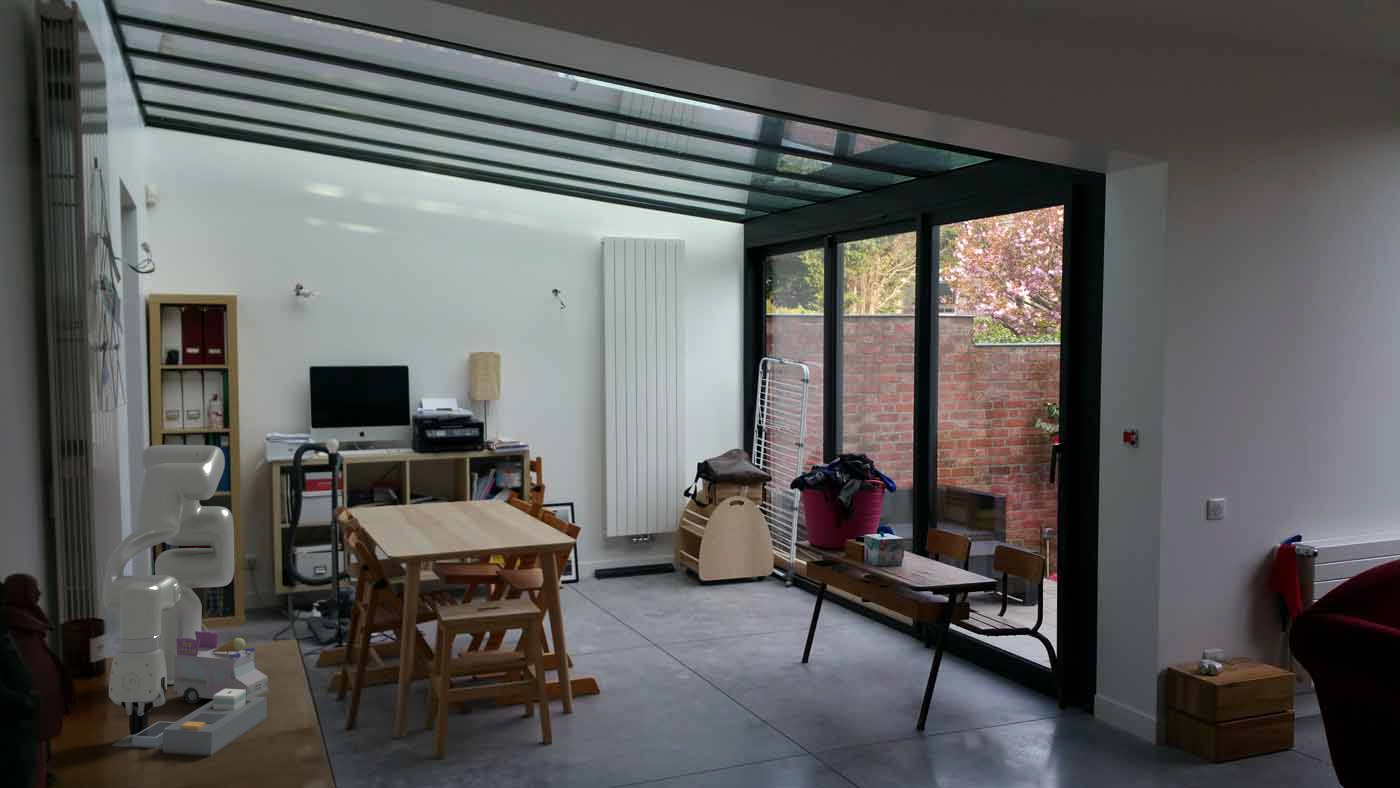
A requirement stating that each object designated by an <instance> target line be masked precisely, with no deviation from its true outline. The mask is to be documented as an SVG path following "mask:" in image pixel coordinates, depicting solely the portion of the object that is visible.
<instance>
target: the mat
mask: <svg viewBox="0 0 1400 788" xmlns="http://www.w3.org/2000/svg"><path fill="white" fill-rule="evenodd" d="M134 735H135V734H134ZM134 735H130V734H129V735H128V736H126V737H124V738H122V739H121V740H119V741H117V742H114V743H113V744H112V745H111V747H125V748H127V747H128V748H142V749H143V748H144V749H145V748H146V749H159V750H160V749H161V750H163V743H162V744H160V745H159V746H157V747H144V746H132V736H134Z"/></svg>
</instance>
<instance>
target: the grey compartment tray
mask: <svg viewBox="0 0 1400 788" xmlns="http://www.w3.org/2000/svg"><path fill="white" fill-rule="evenodd" d="M267 702H268V697H267V696H260V697H257V696H246V698H245V705H244V706H243V707H241V708H239V709H238V710H225V709H213V700H211V701H209V702H207V703H206V704H204V705H201V706H200V707H198V708H197V709H196V710H194V711H192V712H190V713H188V714H186V715H185V716H184V717H181V718H180V719H178V720H176V721H174V722H175V723H173V724H171V725H169V726H168V727H166V728H164V729H163V749H162V753H163V754H175V755H192V756H207V757H211V756H213V755H215V754H216V753H218V752H219V751H221V750H222V749H224V748H225V747H227V746H228V745H230V744H231V743H232V742H234V741H235V740H237V739H238V738H239V737H241V736H243V735H244V734H246V733H247V732H249V731H251V730H252V729H253V728H255V727H256V726H258V725H259V724H261V723H262V722H264V721H265V720H267V713H268V712H267V711H268V710H267V707H268V706H267V704H268V703H267Z"/></svg>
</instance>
